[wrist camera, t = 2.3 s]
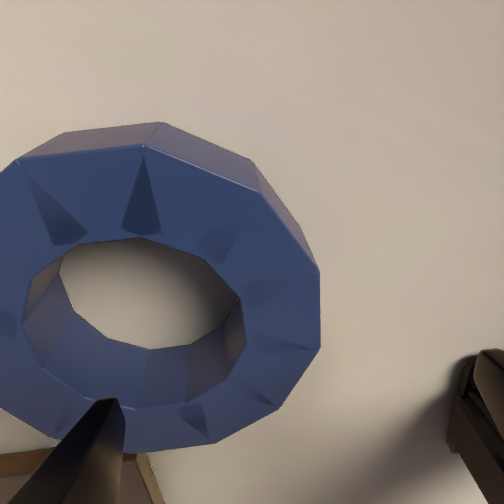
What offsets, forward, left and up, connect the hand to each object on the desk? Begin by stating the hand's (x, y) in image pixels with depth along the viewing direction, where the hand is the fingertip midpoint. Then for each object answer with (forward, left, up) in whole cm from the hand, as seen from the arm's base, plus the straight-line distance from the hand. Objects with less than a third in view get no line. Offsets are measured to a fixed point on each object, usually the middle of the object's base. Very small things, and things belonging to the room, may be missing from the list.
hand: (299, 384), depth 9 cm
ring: (+5, 0, -6) cm, 7 cm away
